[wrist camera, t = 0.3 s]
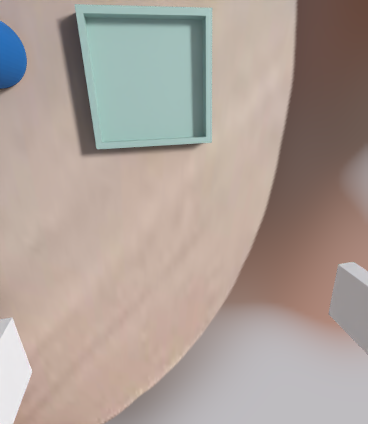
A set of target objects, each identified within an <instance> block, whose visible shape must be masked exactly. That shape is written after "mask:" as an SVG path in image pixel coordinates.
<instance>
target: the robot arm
mask: <svg viewBox="0 0 368 424" xmlns="http://www.w3.org/2000/svg"><path fill="white" fill-rule="evenodd" d="M329 315H330V316H331V317H332V318H333V319H334V320H335V321H336V322H337V323H338V324H339V325H340V326H341V327H342V328H343V329H344V330H345V332H346V333H347V334H348V335H349V336H350V337H351V338H352V339H353V340H354V341H355V342H356V343H357V344H358V345H359V346H360V347H361V348H362V349H363V350H364V351H365V352H366V353H367V354H368V271H366V270H365V269H363V268H362V267H360V266H359V265H357V264H356V263H355V262H350V263H344V264H338V269H337V274H336V279H335V284H334V289H333V294H332V299H331V304H330V309H329ZM31 374H32V370H31V367H30V364H29V362H28V359H27V356H26V353H25V351H24V348H23V345H22V343H21V340H20V337H19V335H18V332H17V329H16V326H15V324H14V321H13V318H6V319H0V424H13V422H14V420H15V417H16V414H17V412H18V409H19V406H20V403H21V401H22V398H23V395H24V393H25V390H26V387H27V384H28V382H29V379H30V376H31Z"/></svg>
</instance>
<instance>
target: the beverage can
mask: <svg viewBox="0 0 368 424" xmlns="http://www.w3.org/2000/svg"><path fill="white" fill-rule="evenodd" d="M26 66H27V58H26V52H25V49H24V46H23V44H22V42H21V40H20V39H19V37H18V36H17V35H16V33H15V32H14V31H13V30H12V29H11V28H10V27H9V26H7V25H6V24H5V23H3V22H2V21H0V89H2V88H8V87H11V86H13V85H15V84H17V83H18V82H19V81H20V80H21V79H22V77H23V76H24V73H25V71H26Z"/></svg>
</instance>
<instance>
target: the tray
mask: <svg viewBox="0 0 368 424" xmlns="http://www.w3.org/2000/svg"><path fill="white" fill-rule="evenodd" d="M75 10H76V17H77V23H78V30H79V37H80V43H81V50H82V56H83V63H84V69H85V76H86V83H87V89H88V96H89V102H90V109H91V115H92V122H93V128H94V135H95V142H96V148H97V149H111V148H128V147H145V146H161V145H178V144H195V143H211V142H212V8H196V7H157V6H118V5H80V4H75Z"/></svg>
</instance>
